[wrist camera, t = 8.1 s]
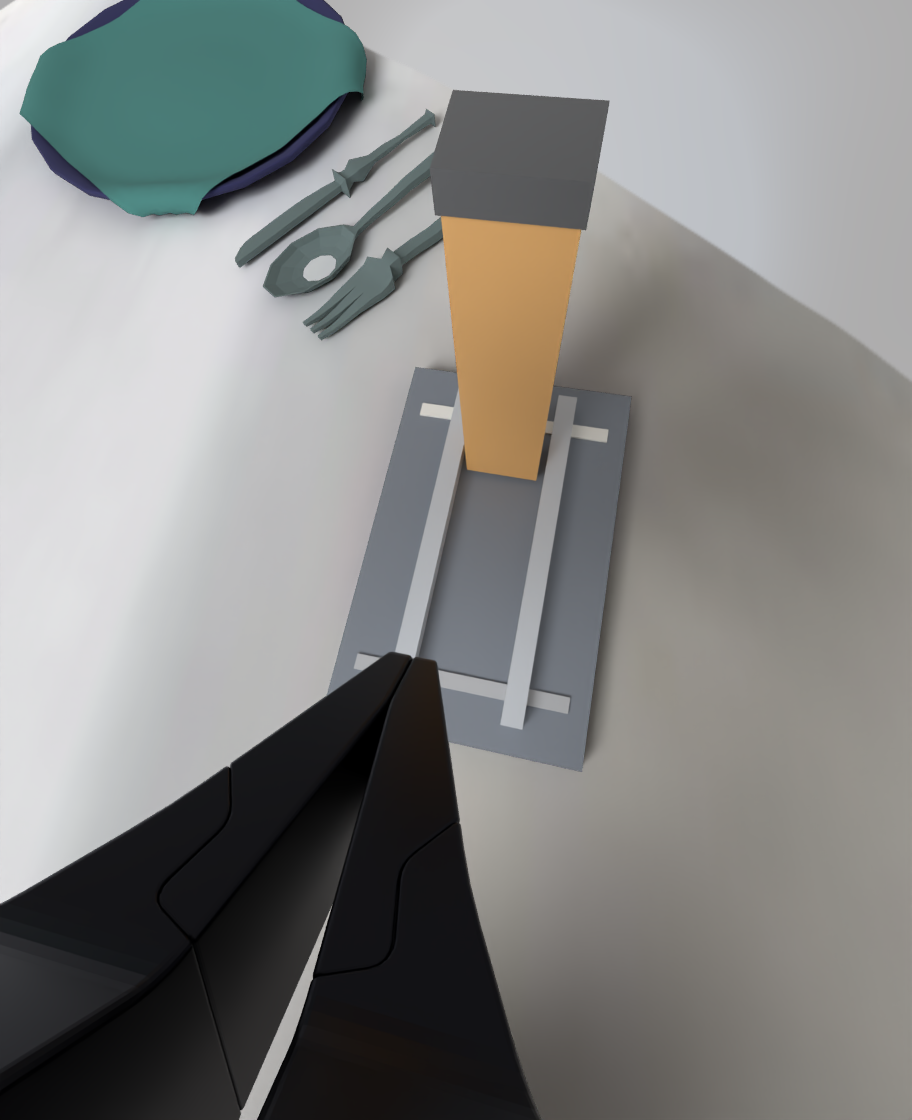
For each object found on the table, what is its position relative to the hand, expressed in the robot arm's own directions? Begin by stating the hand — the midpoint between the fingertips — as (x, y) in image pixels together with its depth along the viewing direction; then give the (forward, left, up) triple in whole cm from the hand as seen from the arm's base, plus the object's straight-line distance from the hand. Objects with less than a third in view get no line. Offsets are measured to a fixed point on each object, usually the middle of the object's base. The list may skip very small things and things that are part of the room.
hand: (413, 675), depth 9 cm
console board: (+6, +3, -13) cm, 14 cm away
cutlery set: (+16, +31, -13) cm, 37 cm away
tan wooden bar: (+9, +5, -11) cm, 15 cm away
